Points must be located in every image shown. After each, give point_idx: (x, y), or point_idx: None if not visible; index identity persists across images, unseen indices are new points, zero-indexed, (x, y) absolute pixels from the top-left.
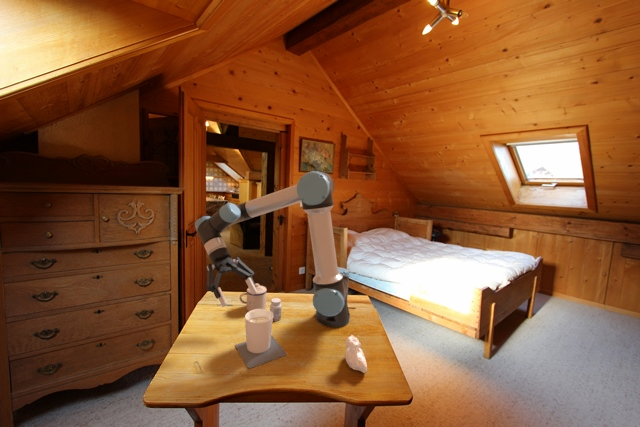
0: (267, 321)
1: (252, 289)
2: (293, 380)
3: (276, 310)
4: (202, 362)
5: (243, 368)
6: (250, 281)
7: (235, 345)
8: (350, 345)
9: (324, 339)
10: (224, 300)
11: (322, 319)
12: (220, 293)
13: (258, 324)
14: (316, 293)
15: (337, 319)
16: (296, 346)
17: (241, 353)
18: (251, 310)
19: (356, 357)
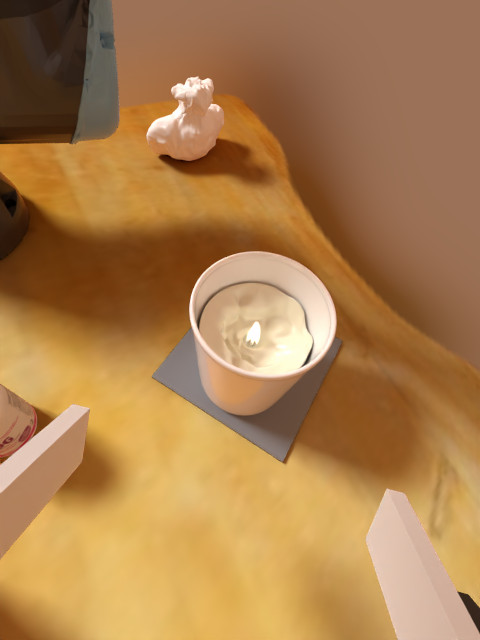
0: (284, 256)
1: (62, 457)
2: (304, 236)
3: (9, 393)
4: (419, 504)
5: (348, 357)
6: (4, 490)
7: (283, 456)
8: (211, 96)
9: (110, 220)
10: (413, 517)
11: (8, 228)
12: (458, 605)
13: (317, 284)
14: (107, 29)
15: (8, 181)
16: (180, 273)
17: (306, 403)
18: (243, 371)
19: (215, 112)
